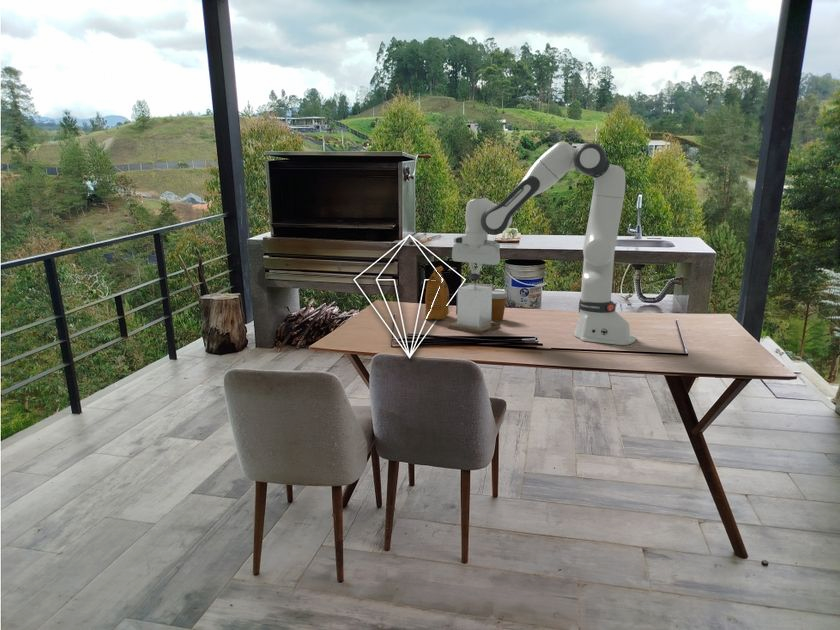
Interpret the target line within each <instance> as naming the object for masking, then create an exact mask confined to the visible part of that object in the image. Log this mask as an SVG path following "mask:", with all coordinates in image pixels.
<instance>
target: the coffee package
mask: <svg viewBox="0 0 840 630" xmlns="http://www.w3.org/2000/svg"><path fill="white" fill-rule="evenodd" d="M434 269H436V270H437V272H438V273H439V274H440V275H441V277H442V278H443V279H444V277H443V273H442V271H444V268H443V266H442V265H440V266H438V267H435V268H434ZM437 272H436V271H435V270H433V273H431V275H430V277H429V278H428V280H427V282H426V287H425V297H424V298H425V299H424V300H425V301H424V302H425V312H424V314H425V315H424V318H426V316H427V314H428V312H429V311H430V309H431V305H432V302H433V300H434V297H435V295H436V292H437V290H438V287H439V285H440V289H439V291H438V294H437V297H436V299H435V302H434V305H433V307H432V311H431V312H430V314H429V316H428V319H426V320H427V321H428V320H431V321H433V319H434V320H436V319H438V320H439V321H440V320H444V319H445V318H446V317H447V316H448V315H449V312H450V311H449V308H450V307H449V305H450V304H449V305H448V306H446V304H447V303H448V302H449V303H450V295H449V294H450V291H449V286H448V284H447V282H446V280H445V279H444V281H443V282H442V283H441V278H440V276H439V275H438V274H437ZM431 280H436V281H431Z"/></svg>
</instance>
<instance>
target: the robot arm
mask: <svg viewBox="0 0 840 630" xmlns="http://www.w3.org/2000/svg"><path fill="white" fill-rule="evenodd" d="M572 170H576V171H578V172H580V173H581V174H583V175H586V176H589V177H592V179H593V182H594V183H593V190H592V197H591V201H590V209H589V214H588V221H587V226H586V230H585V231H586V232H585V236H584V241H583V242H584V243H583V247H582V248H583V249H582V255H583V264H582V274H581V275H582V276H581V289H580V291H581V292H580V298H579V303H578V320H577V325H576V327H575V331H574V334H573V335H574V336H575V338H578V339H580V340H581V341H582V342H588V343H598V344H608V345H609V344H610V345H617V346H627V345H630V344H633V343H635V342H636V341H637V337H636V335H634V334H631V327H630V324H629V322H628V321H627V320H626V319H625V318H624V317H622V316H621V315H620V314H619V313H618V312H617V311H616V310H617V309H616V307H617V304H618V303H617V302H616V303H615V302H613V300H612V293H613V292H612V290H613V279H614V278H613V276H614V264H615V262H614V261H615V251H616V245H617V239H618V233H619V229H620V228H619V226H620V222H621V218H622V217H621V216H622V210H623V207H624V206H623V204H624V199H625V192H626V171H625V169H624V168H623V167H621V166H620V165H617V164H611V163H610V161H609V159H608V156H607V153H606V151H605V149H604V148H603V147H602V146H601V145H600V144H598V143H594V142H587V143H585V144H583V145H581V146H580V147H579V148H575V147H574V146H573V145H571V144H570V143H568V142H565V141H558V142H557V143H554V145H552V146H551V147H550V148H548V149H547V150H546V151H545V152H544V153H542V155H540V156H539V157H538V158H537V160H536V161H535V162H534V163H533V164H532V165H531V166H530V168H529V169H528V171H527V172H526V173H525V175H524V176H523V178H522V180H520V182H519V183H518V185H517V186H516V187H515V188H514V189H513V190H512V191H511V192H510V193H509V194H508V195H507V196H506V197H505V198H504V199H503V200H502V201H501V202H499V203H498V204H496V203H495V202H492V201H491V200H489V199H488V198H487V197H486V196H485V197H484V196H481V197H475V198H471V199H469V200H468V201H467V202H466V207H465V218H464V219H465V220H464V221H465V231H464V234H463V235H459V236H457V237H454V238H453V243H454V244H453V246H452V249H451V250H452V251H451V259H452V261H453V262H459V263H468V267H469V269H470V271H471V272H470V274H475V275H479V274H481V271H480V270H481V269H482V267H483V265H490V266H496V265H497V266H498V265H499V264H500V262H501V256H500V255H501V254H500V253H501V252H500V250H501V249H500V247H501V244H500V243H499V242H498V241H497V240H488V239H489V238H488V236H489V235H493V236H497V235H499V234H502V233H503V232H504V231H507V230H508V229H509V227H511V225H512V223H513V215H514V214H515V213H516V212H517V211H518V210H519V209H520V208H521V207H523V206H524V204H526V203H527V201H528V200H530V199H532V198H533V197H536V196H537V195H539V194H542V193H544V192H545V191H546V192H547V190H549V189H550V188H551V187H553V186H554V185H555V184H557V182H559V181H560V180H561V179H562V178H563V176H564V175H565V174H567V173H568V172H569V171H572ZM488 234H489V235H488ZM475 264H476V267H477V268H475V266H474V265H475Z"/></svg>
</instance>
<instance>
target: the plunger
mask: <svg viewBox="0 0 840 630" xmlns="http://www.w3.org/2000/svg"><path fill="white" fill-rule="evenodd" d="M469 279H471V280H473V285H474V288H477V285H478V280H480V279H482V274H481V273H480V274H479V275H475V274H471V273H469Z"/></svg>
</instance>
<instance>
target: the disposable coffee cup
mask: <svg viewBox="0 0 840 630" xmlns="http://www.w3.org/2000/svg"><path fill="white" fill-rule="evenodd" d="M507 297H508V293H507V291H505V290H501V289H499V290H498V289H495V290H493V289H492V311H491V322H501V321H504V314H505V310H506V309H505V308H506V303H507Z"/></svg>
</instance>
